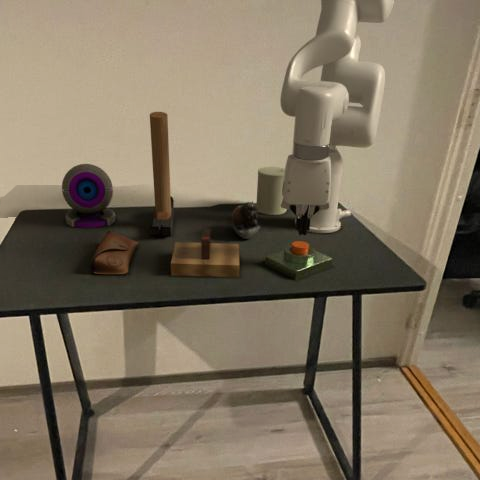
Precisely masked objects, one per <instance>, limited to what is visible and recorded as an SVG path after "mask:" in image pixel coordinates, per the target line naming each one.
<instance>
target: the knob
mask: <svg viewBox="0 0 480 480" xmlns="http://www.w3.org/2000/svg"><path fill="white" fill-rule="evenodd" d="M201 243H202V259H210V249H211V243H212V229H211V228H203V229H202V234H201Z"/></svg>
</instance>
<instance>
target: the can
mask: <svg viewBox="0 0 480 480" xmlns="http://www.w3.org/2000/svg"><path fill="white" fill-rule="evenodd" d="M284 172H285V167H280V166H279V167H277V166H264V167H259V168H258V169H257V187H256V189H257V190H256V203H255V205H256V207H258V209H257V210H258V214H259V213H260V214H263V215H267V216H278V215H283V214H286V213H287V211H288V209H285V208H282V207H281V201H282V198H283V196H282V188H283V179H284Z"/></svg>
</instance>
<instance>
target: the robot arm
mask: <svg viewBox="0 0 480 480" xmlns="http://www.w3.org/2000/svg"><path fill="white" fill-rule="evenodd" d="M395 1H396V0H320V7H321V9H320V13H319V19H318V23H317V27H316V31H315V35H314V37H312V38H311V39H309V40H308V41H307V42H306V43H305V44H303V45H302V46H301V47H300V48H299V49H298V50H297V51H296V52H295V54H294V55H293V56H292V57H291V59H290V60H289V62H288V65H287V67H286V69H285V70H286V71H285V73H284V79H283V83H282V87H281V93H280V102H279V103H280V109H281V110H282V112H283V114H285V115H286V116H288V117H291V118H294V128H293V140H292V148H291V149H292V150H291V154H289V155H288V156H287V159H286V162H285V167H284V169H285V172H284V179H283V188H282V196H283V198H282V201H281V207H282V208H285V209H287V211H288V210H289V211H291V212H292V214H294V215H295V216H296V217H295V219H294V225H295V231H297V232H298V235H299V236H307V232H309V233H313V234H330V233H335V232H337V231H339V230H340V229H341V226H342V223H341V221H340V220H341V219H342V218H350V217H351V216H352V213H351V210H350V209H345V210H342V208H338V206H339V199H340V191H341V184H342V176H343V169H344V160H343V158H342V155H341V153H340V151H339V150H338V148H337V147H350V148H359V149H361V148H362V149H364V148H365V149H366V148H369V147H371V146H372V145H373V144H374V142H375V140H376V137H377V133H378V128H379V122H380V117H381V110H382V104H383V100H384V95H385V94H384V92H385V86H386V71H385V68H384V67H383V65H381V64H380V63H377V62H373V61H359V57H360V52H361V46H362V41H361V37H360V36H359V34H358V31H357V28H358V23H372V24H381V23H382V24H383V23H384V22H386V20H387V19H388V18H389V17H390V15H391V13H392V10H393V7H394V6H395ZM319 67H322V69H321V73H320V74H321V75H320V80H315V79H314V80H313V79H302V77H303V76H305V75H306V74H307V73H308V72H311V71H312V70H314V69H316V68H319ZM349 104H359V105H361V106H354V105H349Z"/></svg>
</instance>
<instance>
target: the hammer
mask: <svg viewBox="0 0 480 480" xmlns="http://www.w3.org/2000/svg"><path fill="white" fill-rule="evenodd" d="M168 116H169V115H168V113H167V112H165V111H164V112H163V111H153V112H150V113H149V128H150V143H151V145H150V146H151V159H152V161H151V162H152V176H153V177H152V178H153V179H152V180H153V194H154V212H153V218H152V224H151V225H152V226H150V227H149V228H150V231H151V232H150V233H151V236H161V235H162V236H172V235H173V225H174V218H175V217H174V216H175V209H174V208H175V205H174V202H175V200H174V198H173V197H172V196H171V173H170V171H171V170H170V150H169V149H170V146H169V145H170V143H169V117H168Z"/></svg>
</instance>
